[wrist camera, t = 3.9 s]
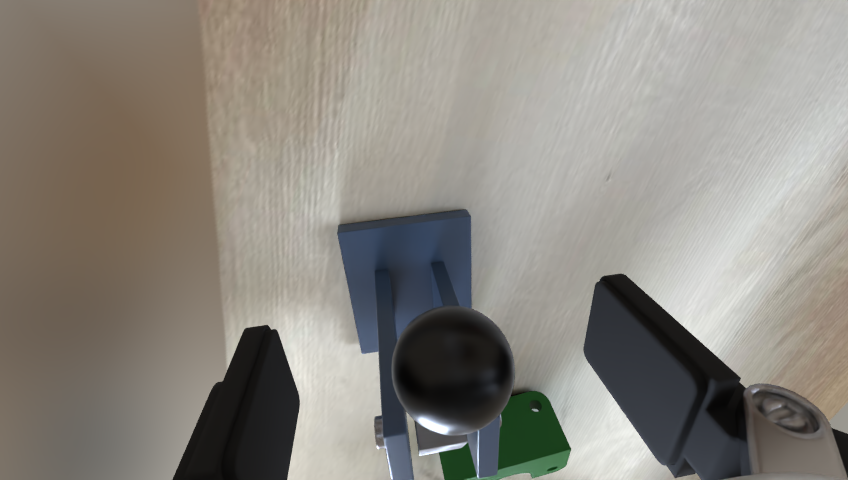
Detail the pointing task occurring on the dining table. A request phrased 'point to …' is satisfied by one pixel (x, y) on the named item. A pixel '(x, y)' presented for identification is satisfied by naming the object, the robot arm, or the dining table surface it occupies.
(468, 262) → the bracket
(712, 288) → the dining table surface
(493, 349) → the lever
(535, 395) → the green mounting block
